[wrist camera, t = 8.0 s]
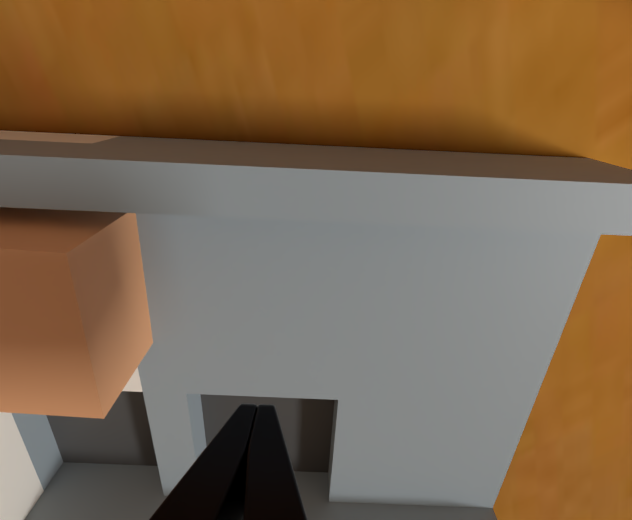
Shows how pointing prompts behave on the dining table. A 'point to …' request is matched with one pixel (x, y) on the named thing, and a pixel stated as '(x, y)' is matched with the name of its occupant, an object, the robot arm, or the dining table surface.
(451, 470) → the box
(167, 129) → the dining table surface
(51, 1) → the dining table surface
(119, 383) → the terracotta block
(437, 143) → the dining table surface
